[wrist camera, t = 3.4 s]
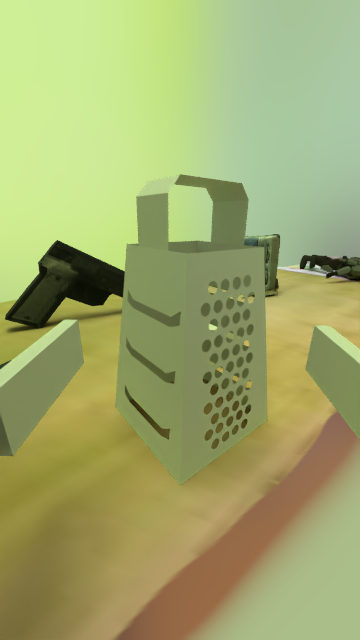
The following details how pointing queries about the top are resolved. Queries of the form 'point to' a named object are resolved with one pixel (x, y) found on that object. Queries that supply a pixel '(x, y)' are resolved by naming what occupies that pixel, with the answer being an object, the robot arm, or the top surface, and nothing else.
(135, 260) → the grater
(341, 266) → the toy
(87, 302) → the handgun
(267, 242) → the radio
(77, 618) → the top surface
